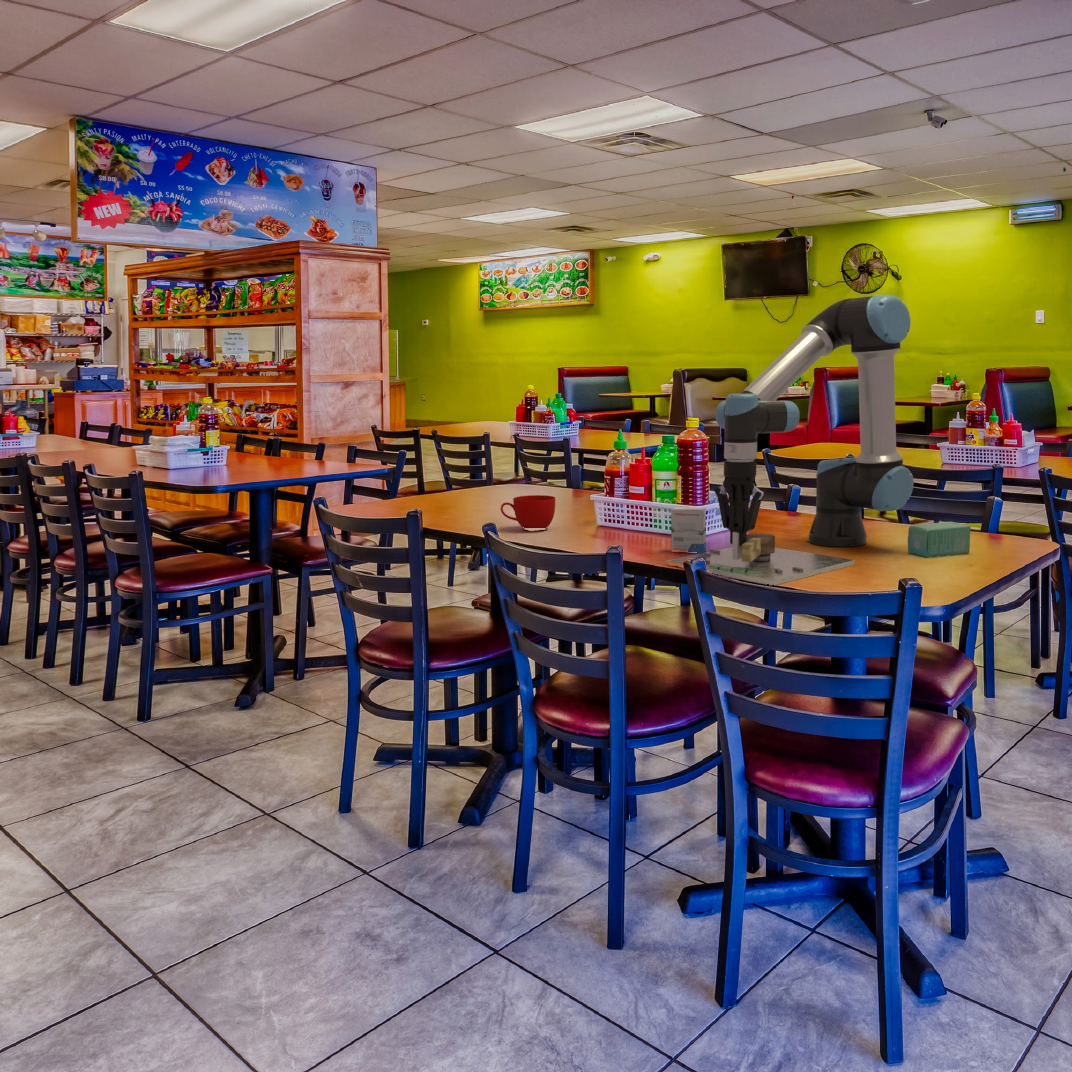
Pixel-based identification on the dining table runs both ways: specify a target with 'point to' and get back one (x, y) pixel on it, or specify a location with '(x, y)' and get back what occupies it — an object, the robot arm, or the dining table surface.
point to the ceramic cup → (532, 510)
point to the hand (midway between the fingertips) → (737, 558)
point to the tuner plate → (769, 565)
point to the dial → (757, 546)
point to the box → (939, 539)
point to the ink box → (688, 529)
